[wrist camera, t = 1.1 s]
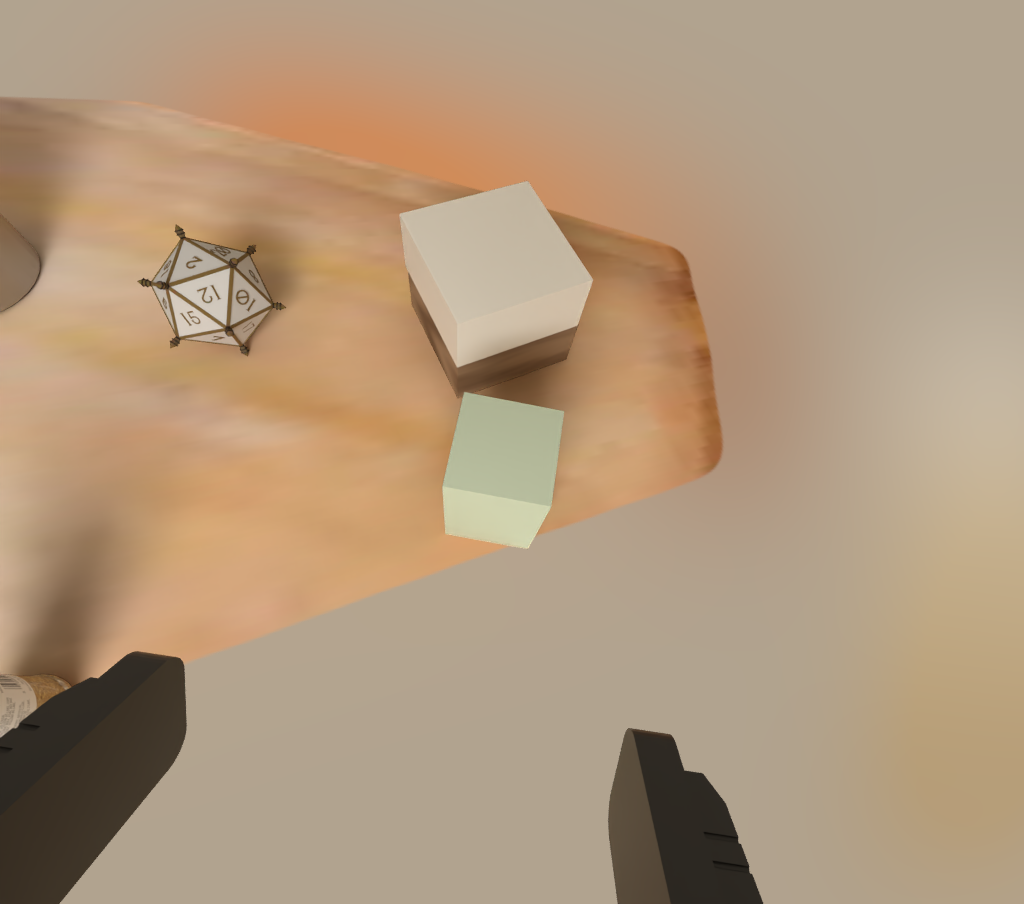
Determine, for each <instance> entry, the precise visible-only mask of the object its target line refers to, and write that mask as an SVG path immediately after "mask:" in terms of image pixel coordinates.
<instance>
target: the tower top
mask: <svg viewBox="0 0 1024 904" xmlns="http://www.w3.org/2000/svg"><path fill="white" fill-rule="evenodd" d="M400 223H401V231H402V240H403V248H404V256H405V265H406V268H407V270H408V272H409V274H410V276H411V278H412V280H413V282H414V284H415V286H416V288H417V290H418V292H419V294H420V296H421V298H422V300H423V302H424V303H425V305H426V307H427V309H428V311H429V313H430V315H431V317H432V319H433V321H434V323H435V325H436V327H437V329H438V331H439V333H440V335H441V337H442V339H443V341H444V343H445V345H446V347H447V349H448V351H449V353H450V355H451V357H452V359H453V361H454V363H455V365H456V366H457V368H458V367H460V366H463V365H466V364H469V363H472V362H475V361H478V360H481V359H483V358H486V357H489V356H492V355H495V354H498V353H501V352H503V351H506V350H509V349H512V348H515V347H518V346H521V345H524V344H526V343H529V342H532V341H535V340H538V339H541V338H544V337H547V336H549V335H552V334H555V333H558V332H561V331H564V330H567V329H570V328H572V327H575V326H578V323H579V320H580V317H581V314H582V311H583V308H584V305H585V302H586V299H587V297H588V294H589V291H590V288H591V285H592V282H593V279H592V277H591V276H590V274H589V273H588V271H587V270H586V268H585V267H584V265H583V264H582V262H581V261H580V259H579V258H578V256H577V255H576V253H575V252H574V250H573V248H572V247H571V245H570V244H569V242H568V241H567V239H566V238H565V236H564V235H563V233H562V232H561V230H560V229H559V227H558V226H557V224H556V223H555V221H554V220H553V218H552V217H551V215H550V214H549V212H548V211H547V209H546V208H545V206H544V205H543V203H542V202H541V200H540V199H539V197H538V196H537V194H536V193H535V191H534V190H533V188H532V186H531V185H530V183H529V182H528V181H526V182H521V183H518V184H514V185H510V186H506V187H502V188H498V189H494V190H491V191H486V192H483V193H479V194H475V195H471V196H467V197H463V198H459V199H455V200H452V201H448V202H444V203H440V204H436V205H432V206H428V207H424V208H420V209H417V210H413V211H409V212H405V213H401V214H400Z"/></svg>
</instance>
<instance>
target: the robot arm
mask: <svg viewBox="0 0 1024 904" xmlns="http://www.w3.org/2000/svg"><path fill="white" fill-rule="evenodd" d="M39 269H40V261H39V257H38V254H37V253H36V251H35V249H34V248H33V247H32V246H31V245H30V244H29V243H28V242H27V240H26V239H25V238H24V237H23V236H22V235H21V234H20V233H19V232H18V231H17V230H16V229H15V228H14V227H13V226H12V225H11V224H10V223H9V222H8V221H7V220H6V219H5V218H4V217H3V216H2V215H1V214H0V312H1V311H3V310H5V309H7V308H9V307H10V306H12V305H13V304H15V303H16V302H18V301H19V300H20V299H21V298H22V297H23V296H24V295H25V294H27V293H28V292H29V290H30V289H31V287H32V286H33V285H34V283H35V282H36V279H37V277H38V274H39ZM184 673H185V672H184V664H183V662H182V660H181V659H180V658H177V657H171V656H165V655H158V654H152V653H145V652H139V651H137V652H132V653H130V654H128V655H126V656H125V657H124V658H122V659H121V660H120V661H119V662H117V663H116V664H115V665H114V666H113V667H111V668H110V669H109V670H108V671H107V672H105V673H104V674H103V675H102V676H101V677H99V678H89V679H87V680H85V681H83V682H81V683H79V684H77V685H75V686H73V687H71V688H69V689H67V690H65V691H63V692H61V693H59V694H57V695H55V696H53V697H51V698H50V699H49V700H48V701H46V702H45V703H44V704H42V705H41V706H40V707H39V708H37V709H36V710H35V711H34V712H32V713H31V714H30V715H28V716H27V717H26V718H25V719H23V720H22V721H21V722H20V723H19V725H18V727H17V728H12V729H11V730H9V731H8V732H7V733H6V734H4V735H3V736H2V737H0V904H59V903H60V902H61V901H62V900H63V898H64V897H65V896H66V895H67V894H68V892H69V891H70V890H71V889H72V887H73V886H74V885H75V884H76V882H77V881H78V880H79V879H80V878H81V876H82V875H83V874H84V873H85V871H86V870H87V869H88V868H89V867H90V865H91V864H92V863H93V862H94V860H95V859H96V858H97V857H98V855H99V854H100V853H101V852H102V851H103V849H104V848H105V847H106V846H107V844H108V843H109V842H110V841H111V839H112V838H113V837H114V836H115V834H116V833H117V832H118V831H119V830H120V829H121V827H122V826H123V825H124V823H125V822H126V821H127V820H128V819H129V817H130V816H131V815H132V814H133V812H134V811H135V810H136V809H137V808H138V806H139V805H140V804H141V803H142V802H143V800H144V799H145V798H146V797H147V795H148V794H149V793H150V792H151V790H152V789H153V788H154V787H155V786H156V784H157V783H158V782H159V781H160V779H161V778H162V777H163V776H164V774H165V773H166V772H167V771H168V770H169V768H170V767H171V766H172V764H173V763H174V761H175V759H176V758H177V756H178V754H179V752H180V750H181V747H182V745H183V741H184V739H185V734H186V699H185V674H184ZM608 823H609V840H610V848H611V855H612V863H613V871H614V878H615V886H616V894H617V901H618V904H763V902H762V899H761V896H760V894H759V891H758V889H757V886H756V883H755V880H754V878H753V875H752V874H750V873H749V864H748V862H747V859H746V856H745V854H744V851H743V848H742V846H741V844H739V843H738V835H737V832H736V830H735V827H734V824H733V822H732V819H731V816H730V814H729V811H728V808H727V806H726V803H725V802H724V801H723V799H722V798H721V797H720V795H719V794H718V793H717V792H716V790H715V789H714V788H713V786H712V785H711V784H710V782H709V781H708V780H707V778H706V777H705V776H704V774H702V773H696V772H690V771H684V768H683V765H682V762H681V759H680V756H679V752H678V749H677V746H676V743H675V740H674V738H673V737H672V735H670V734H664V733H658V732H651V731H645V730H638V729H632V728H628V729H627V731H626V733H625V735H624V739H623V744H622V748H621V752H620V756H619V761H618V765H617V769H616V773H615V778H614V782H613V786H612V790H611V795H610V802H609V818H608Z"/></svg>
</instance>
